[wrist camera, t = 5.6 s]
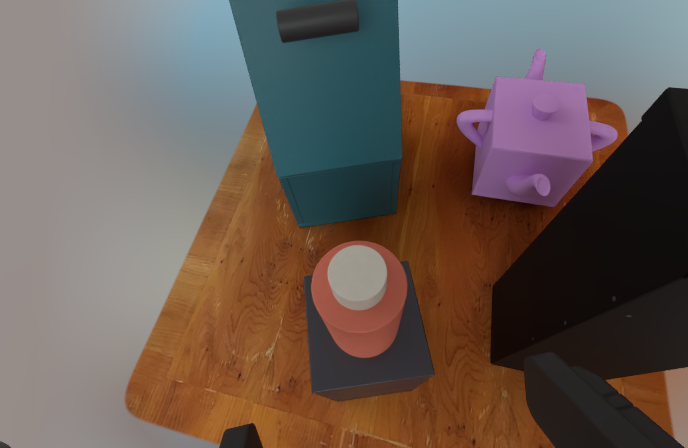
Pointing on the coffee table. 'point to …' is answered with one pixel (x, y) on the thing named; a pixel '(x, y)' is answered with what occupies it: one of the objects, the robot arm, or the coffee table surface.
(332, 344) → the stand
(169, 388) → the coffee table surface
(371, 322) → the lotion bottle
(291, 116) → the case lid
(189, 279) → the coffee table surface
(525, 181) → the teapot
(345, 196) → the wipes case
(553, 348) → the tissue box
